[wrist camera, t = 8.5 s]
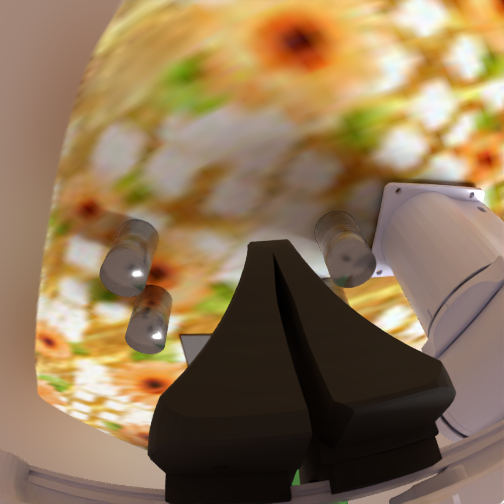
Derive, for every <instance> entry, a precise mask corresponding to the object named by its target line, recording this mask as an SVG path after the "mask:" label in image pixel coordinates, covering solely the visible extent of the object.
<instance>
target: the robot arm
mask: <svg viewBox="0 0 504 504" xmlns="http://www.w3.org/2000/svg"><path fill="white" fill-rule="evenodd" d="M398 188H400V189H399V191H398V192H395V191H396V189H398ZM471 192H472V193H471ZM470 193H471V195H470ZM483 198H484V191H483V190H482V189H481V188H474V187H462V186H449V185H434V184H417V183H395V182H391V183H388V184H387V185H386V186H385V188H384V192H383V198H382V203H381V208H380V213H379V218H378V223H377V228H376V232H375V237H374V242H373V246H372V250H371V251H372V253H373V254H374V256H375V258H376V262H377V264H376V269H375V272H374V273H373V275H372V276H371V277H383V276H395V277H396V279H397V281H398V283H399V284H400V286H401V288H402V290H403V292H404V293H405V295H406V297H407V299H408V301H409V303H410V305H411V306H412V308H413V310H414V312H415V314H416V316H417V318H418V320H419V322H420V324H421V326H422V328H423V329H424V331H425V333H426V335H427V337H428V340H427V342H426V344H425V345H424V346H423V347H422V352H421V351H419V350H416V349H414V348H412V347H410V346H409V345H407V344H405V343H403V342H401V341H400V340H398V339H396V338H394V337H393V336H391V335H389V334H388V333H386V332H384V331H383V330H381V329H380V328H378V327H377V326H376V325H374V324H373V323H371V322H370V321H368V320H367V319H365V318H364V317H363V316H361V315H360V314H359V313H357V312H356V311H355V310H354V309H352V308H351V307H350V306H349V305H348V304H346V303H345V302H344V301H343V300H342V299H341V298H340V297H339V296H338V295H336V294H335V293H334V292H333V291H332V290H331V289H330V288H329V287H328V286H327V285H326V284H325V283H324V282H323V281H322V280H321V278H320V277H319V276H318V275H317V274H316V273H315V272H314V271H313V270H312V269H311V267H310V266H309V265H308V264H307V263H306V262H305V260H304V259H303V258H302V257H301V255H300V254H299V253H298V252H297V250H296V249H295V248H294V246H293V245H292V244H291V242H290V241H289V240H288V239H286V240H271V241H257V242H250V243H249V244H248V251H247V257H246V262H245V265H244V269H243V272H242V275H241V278H240V281H239V283H238V286H237V288H236V291H235V293H234V295H233V297H232V300H231V302H230V304H229V306H228V308H227V310H226V312H225V314H224V316H223V317H222V319H221V321H220V323H219V324H218V326H217V327H216V329H215V331H214V332H213V334H212V335H211V337H210V338H209V340H208V341H207V343H206V344H205V346H204V347H203V348H202V350H201V351H200V352H199V353H198V355H197V356H196V357H195V358H194V360H193V361H192V362H191V363H190V365H189V366H188V367H187V368H186V370H185V371H184V372H183V373H182V374H181V375H180V376H179V377H178V378H177V379H176V380H175V381H174V383H173V384H172V385H171V386H170V387H169V388H168V389H167V390H166V391H165V392H164V393H163V394H162V395H161V396H160V397H159V400H158V403H157V405H156V408H155V411H154V414H153V418H152V422H151V426H150V431H149V442H148V456H149V457H150V459H151V460H152V461H153V462H154V463H155V464H156V465H157V466H158V467H159V468H160V469H161V470H163V471H164V472H165V473H166V480H165V490H163V489H151V488H141V487H132V486H125V485H117V484H111V483H105V482H99V481H93V480H88V479H83V478H79V477H73V476H70V475H65V474H61V473H57V472H53V471H49V470H46V469H42V468H38V467H35V466H32V465H29V463H28V462H26V461H25V460H23V459H21V458H20V457H18V456H16V455H14V454H12V453H10V452H7V451H4V450H1V449H0V504H336V503H341V502H345V501H349V500H354V499H358V498H362V497H366V496H370V495H374V494H377V493H380V492H384V491H387V490H391V489H394V488H397V487H400V486H403V485H406V484H409V483H412V482H415V481H418V480H421V479H423V478H426V477H429V476H431V475H434V474H436V473H438V474H437V475H436V476H434V477H432V478H429V479H427V480H425V481H423V482H420V483H418V484H416V485H414V486H412V487H411V488H410V489H409V490H408V491H406V492H404V493H402V494H400V495H398V496H396V497H393V498H391V499H390V500H389V504H503V503H504V222H503V221H502V220H501V219H500V218H499V217H498V216H497V215H496V214H495V213H493V212H492V211H491V210H490V209H489V208H488V207H487V206H486V205H485V204H483V203H482V201H483ZM378 270H380V271H378ZM377 271H378V272H377ZM438 433H441V434H442V435H443V436H445V437H446V438H448V439H449V440H451V441H453V442H455V443H453V444H450V445H448V446H445V447H443V448H440V449H439V447H438V444H437V441H436V438H435V436H437V434H438ZM298 469H299V479H300V485H294V486H292V482H293V480H294V477H295V474H296V472H297V470H298Z"/></svg>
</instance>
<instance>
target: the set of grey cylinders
mask: <svg viewBox="0 0 504 504" xmlns="http://www.w3.org/2000/svg"><path fill="white" fill-rule="evenodd" d="M315 237H316V239H317V242H318V244H319V247H320V250H321V252H322V255H323V258H324V260H325V263H326V266H327V268H328V271H329V274H330V277H331V278H326V279H321V280H322V281H323V282H324V283H325V284H326V285H327V286H328V287H329V288H330V289H331V290H332V291H333V292H334V293H335V294H336V295H338V296H339V297H340V298H341V299H342V300H343V301H344V302H345V303H346V304H348V305H349V303H348V300H347V297H346V295H345V292H344V290H343V287H344V288H351V287H356V286H359V285H361V284H363V283H365V282H366V281H367V280H368V279H369V278H370V277H371V276H372V275H373V273H374V272H375V269H376V264H377V262H376V258H375V256H374V254H373V253H372V251H371V249H370V247H369V246H368V244H367V242H366V240H365V239H364V237H363V235H362V234H361V232H360V230H359V229H358V227H357V225H356V224H355V222H354V220H353V219H352V217H351V216H350V215H348V214H347V213H345V212H340V211H336V212H331V213H328V214H326V215H325V216H323V217H322V218H321V219H320V220H319V221H318V223H317V225H316V227H315ZM158 242H159V238H158V234H157V232H156V230H155V229H154V228H153V227H152V226H151V225H150V224H149V223H147V222H145V221H142V220H130V221H128V222H126V223H124V224H123V225H122V227H121V228H120V230H119V232H118V234H117V236H116V238H115V240H114V242H113V244H112V246H111V248H110V250H109V252H108V254H107V256H106V258H105V260H104V262H103V264H102V266H101V269H100V278H101V281H102V283H103V284H104V286H105V287H106V288H107V289H108V290H110V291H111V292H113V293H114V294H117V295H119V296H123V297H133V296H136V295H137V297H136V300H135V304H134V307H133V311H132V314H131V318H130V321H129V325H128V328H127V332H126V336H125V340H126V342H127V344H128V345H129V346H130V347H131V348H133V349H134V350H136V351H138V352H141V353H145V354H155V353H159V352H161V351H162V350H163V349H164V347H165V342H166V336H167V330H168V324H169V318H170V312H171V307H172V297H171V295H170V294H169V293H168V292H167V291H166V290H164V289H163V288H160V287H157V286H145V285H146V282H147V279H148V275H149V272H150V269H151V265H152V262H153V259H154V256H155V252H156V249H157V246H158ZM349 306H350V305H349Z"/></svg>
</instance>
